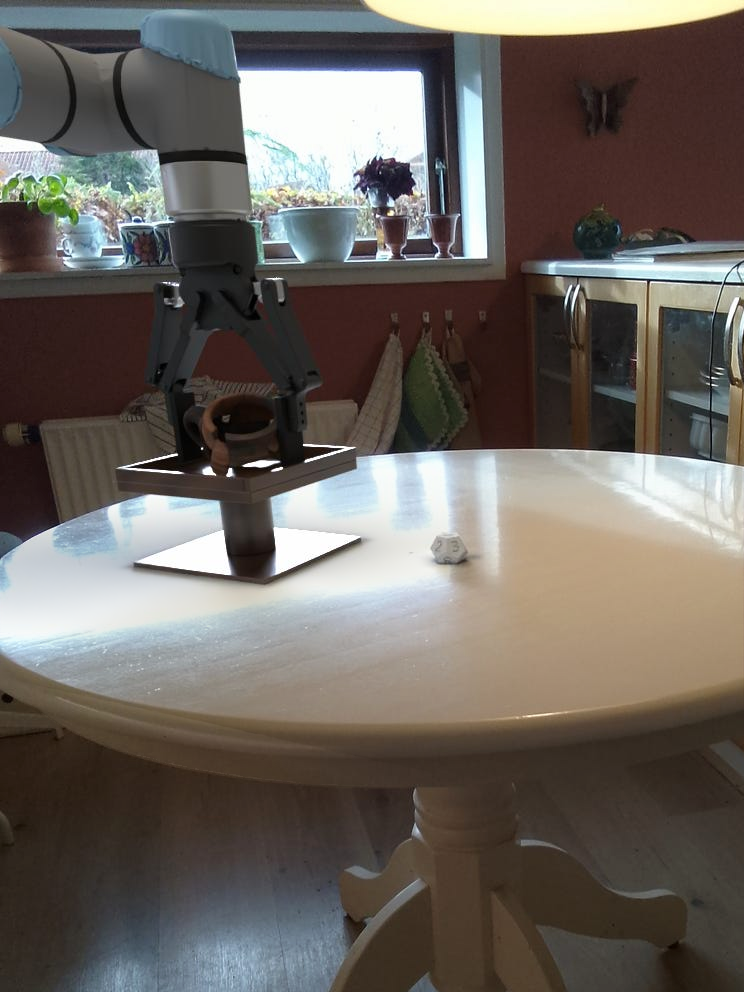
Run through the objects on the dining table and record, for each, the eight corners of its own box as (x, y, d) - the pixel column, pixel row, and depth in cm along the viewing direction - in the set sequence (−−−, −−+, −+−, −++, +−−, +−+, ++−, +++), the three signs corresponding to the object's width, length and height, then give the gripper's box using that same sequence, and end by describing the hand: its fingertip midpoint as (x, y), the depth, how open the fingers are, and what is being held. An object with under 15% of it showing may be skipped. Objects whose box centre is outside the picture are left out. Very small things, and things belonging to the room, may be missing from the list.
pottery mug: (315, 465, 94) (309, 398, 88) (270, 524, 88) (259, 457, 82) (211, 432, 96) (198, 364, 90) (161, 488, 90) (142, 420, 84)
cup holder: (131, 573, 90) (113, 468, 86) (243, 531, 104) (232, 440, 100) (262, 591, 83) (249, 478, 79) (363, 544, 97) (356, 447, 93)
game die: (428, 561, 91) (426, 532, 90) (465, 558, 91) (464, 529, 90) (433, 571, 87) (431, 541, 86) (471, 568, 88) (470, 538, 87)
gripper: (348, 214, 80) (366, 462, 88) (140, 229, 90) (173, 450, 98) (296, 209, 74) (321, 477, 82) (79, 226, 84) (120, 463, 92)
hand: (240, 463), depth 90 cm, fingers closed on pottery mug, 12 cm apart
